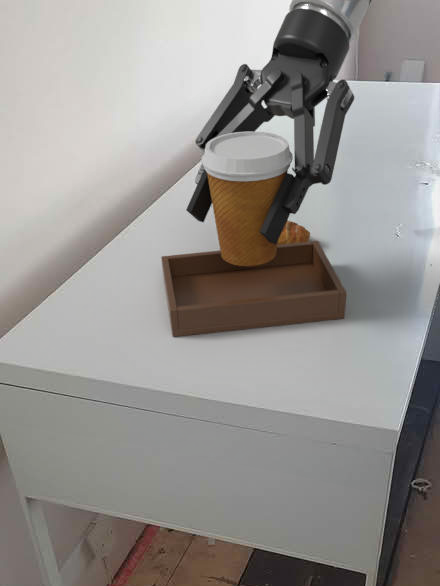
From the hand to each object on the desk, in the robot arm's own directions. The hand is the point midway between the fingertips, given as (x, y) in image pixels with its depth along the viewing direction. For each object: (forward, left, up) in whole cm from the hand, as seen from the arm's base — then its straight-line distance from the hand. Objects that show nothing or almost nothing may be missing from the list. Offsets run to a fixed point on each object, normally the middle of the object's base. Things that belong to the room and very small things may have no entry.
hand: (230, 227), depth 77 cm
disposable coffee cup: (-2, -2, -5) cm, 5 cm away
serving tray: (-2, -2, -10) cm, 10 cm away
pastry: (-7, -16, -10) cm, 20 cm away
